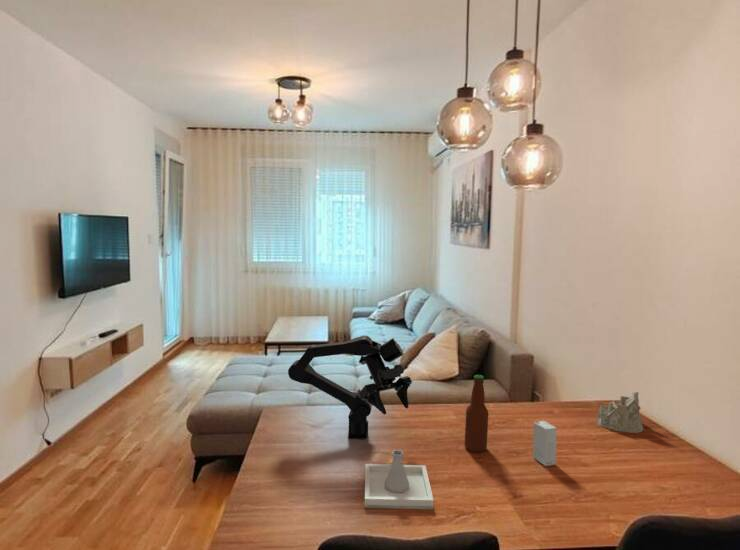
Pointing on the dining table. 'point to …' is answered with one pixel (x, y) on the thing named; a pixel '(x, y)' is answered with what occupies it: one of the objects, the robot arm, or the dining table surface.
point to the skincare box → (544, 443)
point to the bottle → (476, 418)
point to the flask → (397, 474)
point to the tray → (410, 499)
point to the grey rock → (622, 415)
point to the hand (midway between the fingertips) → (396, 410)
